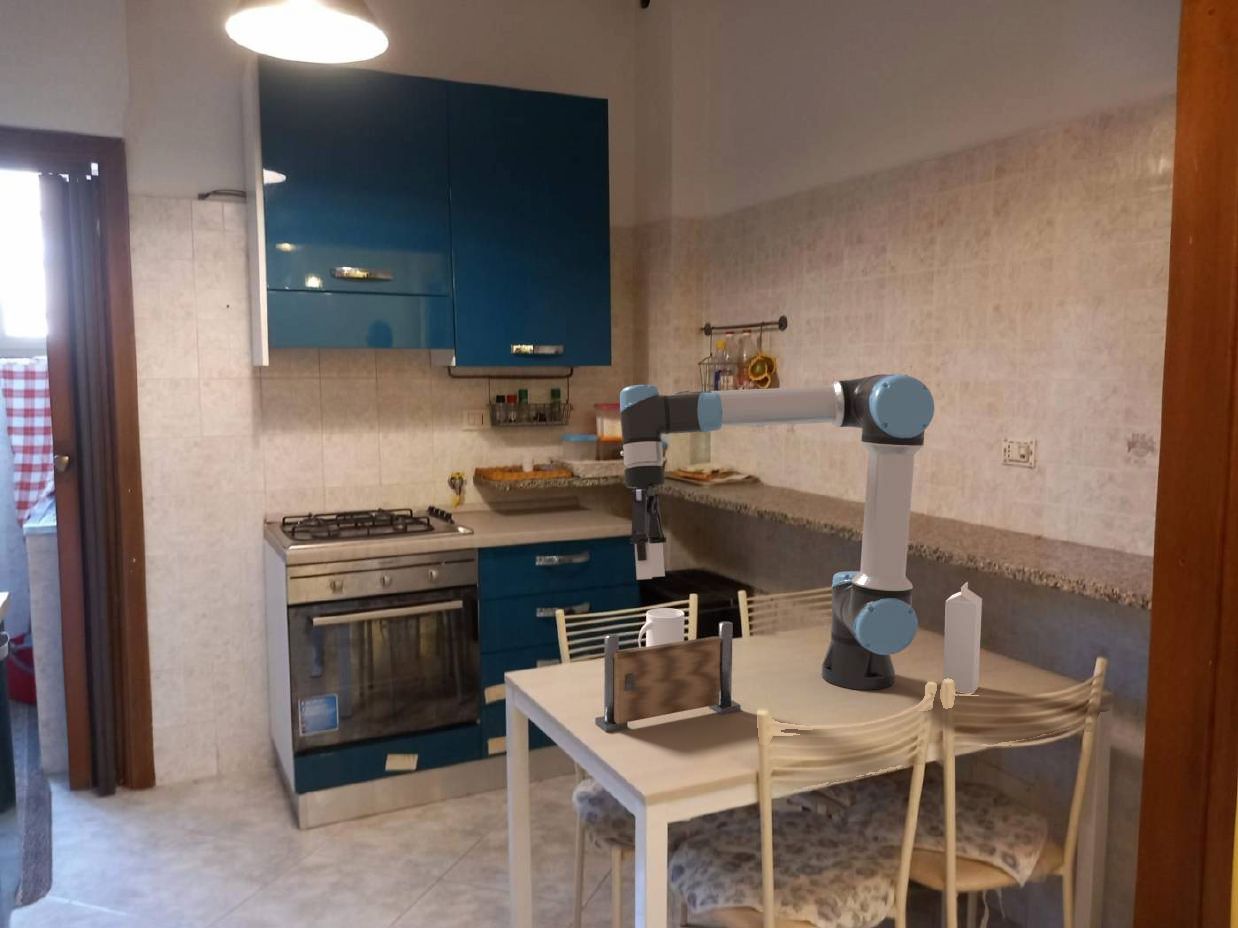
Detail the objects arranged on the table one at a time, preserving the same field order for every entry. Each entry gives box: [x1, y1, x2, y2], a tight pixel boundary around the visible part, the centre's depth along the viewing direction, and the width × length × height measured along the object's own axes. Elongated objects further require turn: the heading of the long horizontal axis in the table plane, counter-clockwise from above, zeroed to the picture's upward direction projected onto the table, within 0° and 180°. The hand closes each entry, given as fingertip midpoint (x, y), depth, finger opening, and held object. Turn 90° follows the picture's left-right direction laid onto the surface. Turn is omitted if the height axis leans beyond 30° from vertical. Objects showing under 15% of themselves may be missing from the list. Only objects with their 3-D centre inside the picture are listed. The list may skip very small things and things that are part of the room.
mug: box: [638, 607, 685, 648], centre depth 211 cm, size 9×12×11 cm
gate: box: [613, 635, 721, 724], centre depth 174 cm, size 22×2×13 cm, turn 118°
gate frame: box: [594, 621, 742, 733], centre depth 176 cm, size 28×7×17 cm, turn 118°
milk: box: [942, 581, 983, 694], centre depth 192 cm, size 6×6×22 cm
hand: (651, 577), depth 177 cm, fingers open, 13 cm apart
